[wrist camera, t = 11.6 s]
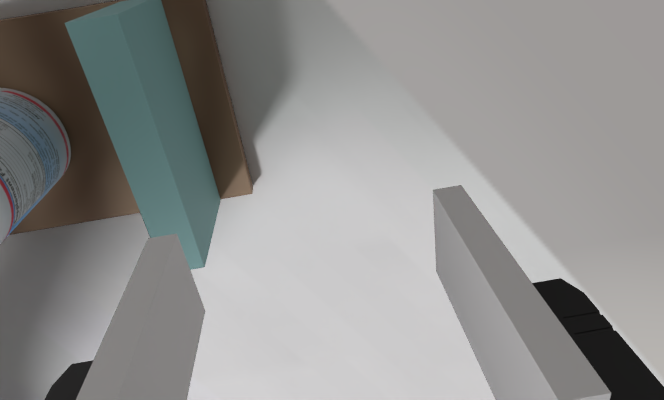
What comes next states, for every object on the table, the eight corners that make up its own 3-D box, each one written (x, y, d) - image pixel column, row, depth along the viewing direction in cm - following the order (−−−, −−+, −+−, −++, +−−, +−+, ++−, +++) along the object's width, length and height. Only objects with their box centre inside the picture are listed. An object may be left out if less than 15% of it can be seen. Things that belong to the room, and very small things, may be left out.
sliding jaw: (189, 205, 30) (164, 273, 24) (120, 1, 24) (64, 22, 18) (220, 199, 30) (204, 267, 24) (159, -5, 24) (117, 14, 18)
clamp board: (-23, 233, 31) (-113, 320, 24) (-140, 42, 25) (-306, 84, 18) (252, 186, 31) (244, 259, 24) (202, -14, 25) (170, 5, 18)
